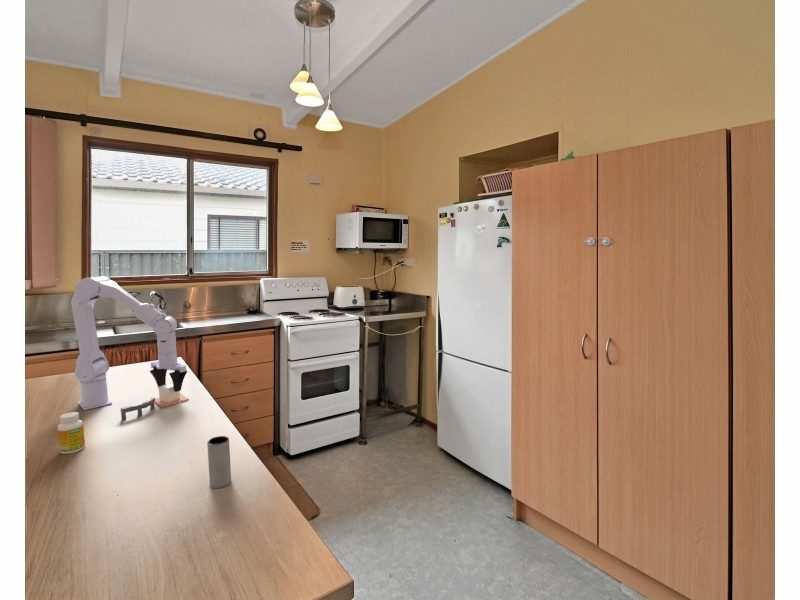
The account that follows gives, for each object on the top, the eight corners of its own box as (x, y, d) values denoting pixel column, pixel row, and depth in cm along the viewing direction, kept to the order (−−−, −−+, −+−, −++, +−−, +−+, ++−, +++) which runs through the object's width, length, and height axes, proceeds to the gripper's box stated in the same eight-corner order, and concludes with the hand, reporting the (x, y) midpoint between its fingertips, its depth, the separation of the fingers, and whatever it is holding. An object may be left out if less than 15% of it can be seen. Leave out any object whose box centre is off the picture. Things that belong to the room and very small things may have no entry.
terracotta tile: (152, 401, 149) (152, 399, 149) (179, 394, 155) (179, 392, 155) (161, 407, 143) (161, 405, 143) (189, 400, 149) (189, 398, 149)
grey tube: (223, 475, 100) (221, 434, 99) (235, 481, 97) (233, 439, 96) (205, 484, 96) (203, 441, 95) (217, 490, 94) (214, 446, 92)
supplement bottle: (71, 455, 110) (67, 419, 109) (54, 453, 111) (50, 417, 110) (90, 445, 115) (87, 411, 114) (73, 444, 116) (70, 410, 115)
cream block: (159, 400, 148) (158, 386, 147) (170, 396, 152) (169, 382, 151) (169, 402, 146) (168, 388, 145) (180, 398, 150) (179, 384, 149)
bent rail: (118, 416, 135) (117, 405, 135) (154, 407, 143) (154, 397, 142) (122, 420, 132) (121, 409, 131) (159, 411, 140) (158, 400, 139)
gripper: (141, 352, 146) (144, 390, 148) (172, 356, 141) (175, 395, 142) (160, 348, 152) (162, 384, 154) (190, 351, 147) (192, 389, 149)
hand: (169, 389), depth 149 cm, fingers open, 7 cm apart
